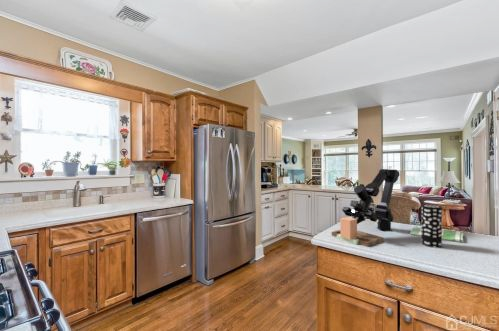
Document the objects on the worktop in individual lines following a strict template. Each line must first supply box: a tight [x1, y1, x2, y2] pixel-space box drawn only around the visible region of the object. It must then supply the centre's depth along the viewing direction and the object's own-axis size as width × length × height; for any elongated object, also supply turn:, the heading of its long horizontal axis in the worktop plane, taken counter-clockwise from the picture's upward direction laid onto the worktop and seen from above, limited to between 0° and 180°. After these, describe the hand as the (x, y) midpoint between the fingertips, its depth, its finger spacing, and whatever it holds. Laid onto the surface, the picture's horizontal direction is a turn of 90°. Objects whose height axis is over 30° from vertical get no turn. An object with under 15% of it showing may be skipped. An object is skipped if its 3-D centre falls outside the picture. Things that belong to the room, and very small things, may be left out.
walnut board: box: [331, 229, 384, 248], centre depth 133 cm, size 15×22×2 cm
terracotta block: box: [339, 216, 358, 239], centre depth 129 cm, size 6×6×10 cm
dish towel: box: [409, 225, 465, 243], centre depth 138 cm, size 18×23×3 cm
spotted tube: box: [420, 204, 443, 249], centre depth 122 cm, size 8×8×20 cm
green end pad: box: [336, 234, 359, 245], centre depth 129 cm, size 3×12×2 cm, turn 32°
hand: (352, 225), depth 131 cm, fingers closed
